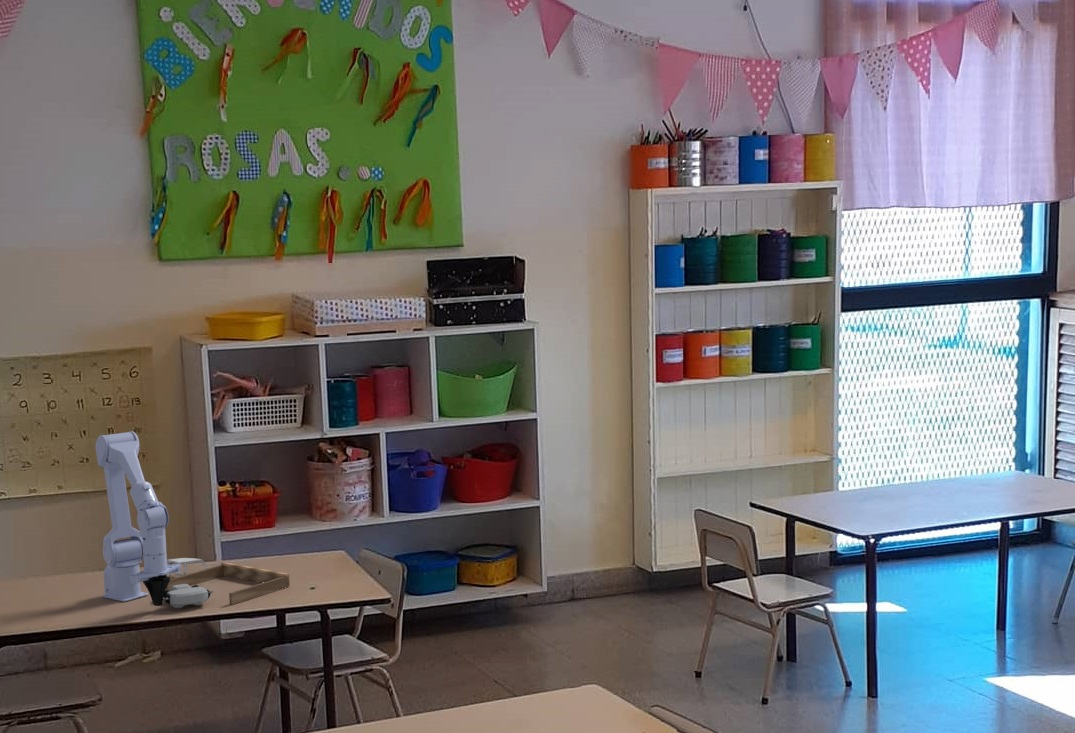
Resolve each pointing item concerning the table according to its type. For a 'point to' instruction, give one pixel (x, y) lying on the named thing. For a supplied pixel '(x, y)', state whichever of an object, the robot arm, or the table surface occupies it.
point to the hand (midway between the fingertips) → (157, 605)
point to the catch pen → (270, 578)
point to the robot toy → (186, 595)
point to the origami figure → (185, 563)
